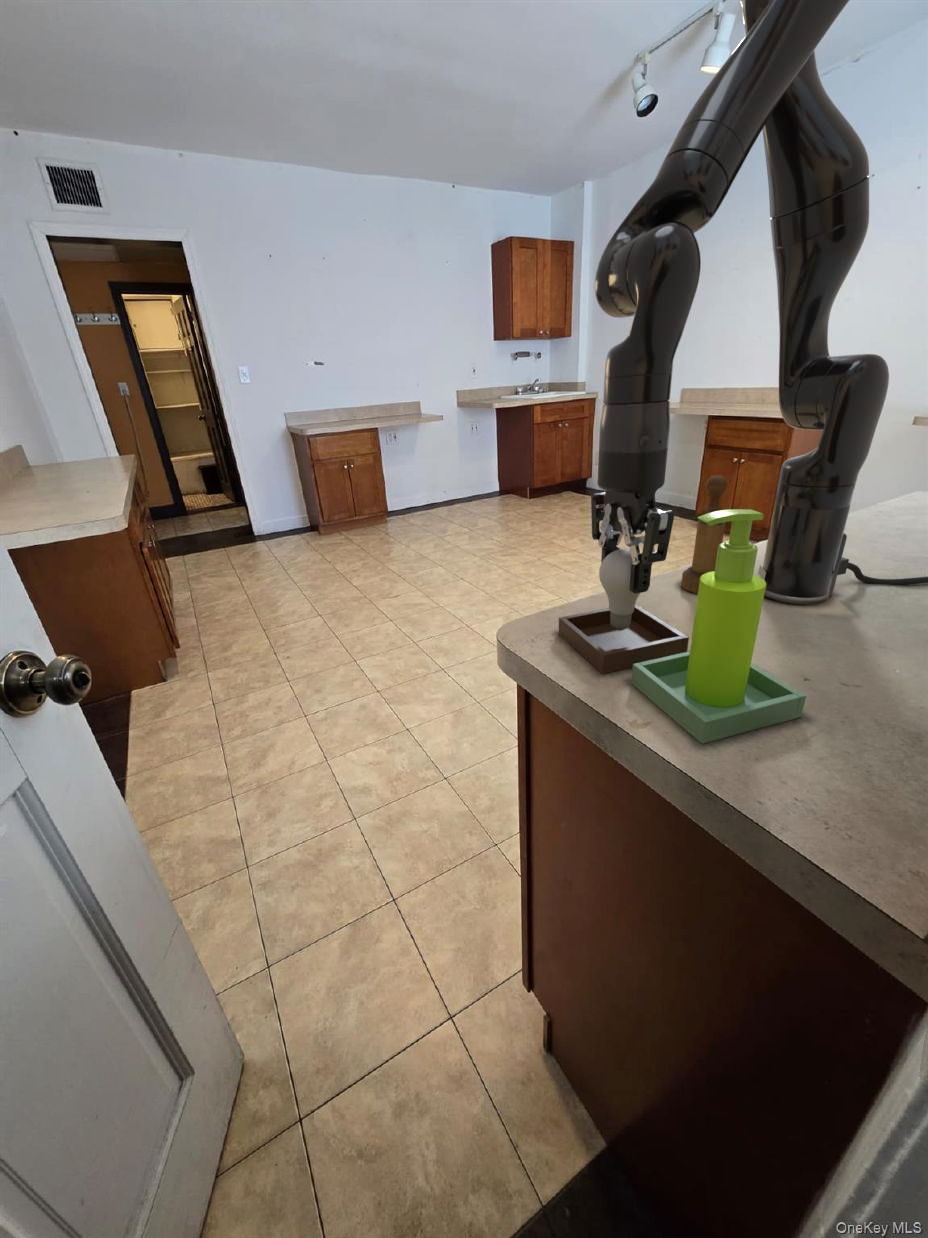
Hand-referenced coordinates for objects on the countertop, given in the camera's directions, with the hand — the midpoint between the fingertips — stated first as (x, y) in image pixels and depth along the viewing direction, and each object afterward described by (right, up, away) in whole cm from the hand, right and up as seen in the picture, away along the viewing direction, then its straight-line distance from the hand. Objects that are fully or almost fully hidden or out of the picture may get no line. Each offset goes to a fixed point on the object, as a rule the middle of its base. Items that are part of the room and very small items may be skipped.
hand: (623, 582), depth 65 cm
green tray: (+7, -13, -9) cm, 18 cm away
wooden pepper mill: (+19, 0, +20) cm, 27 cm away
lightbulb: (0, -6, +3) cm, 7 cm away
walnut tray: (+1, -8, +4) cm, 9 cm away
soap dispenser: (+7, -13, -9) cm, 17 cm away
